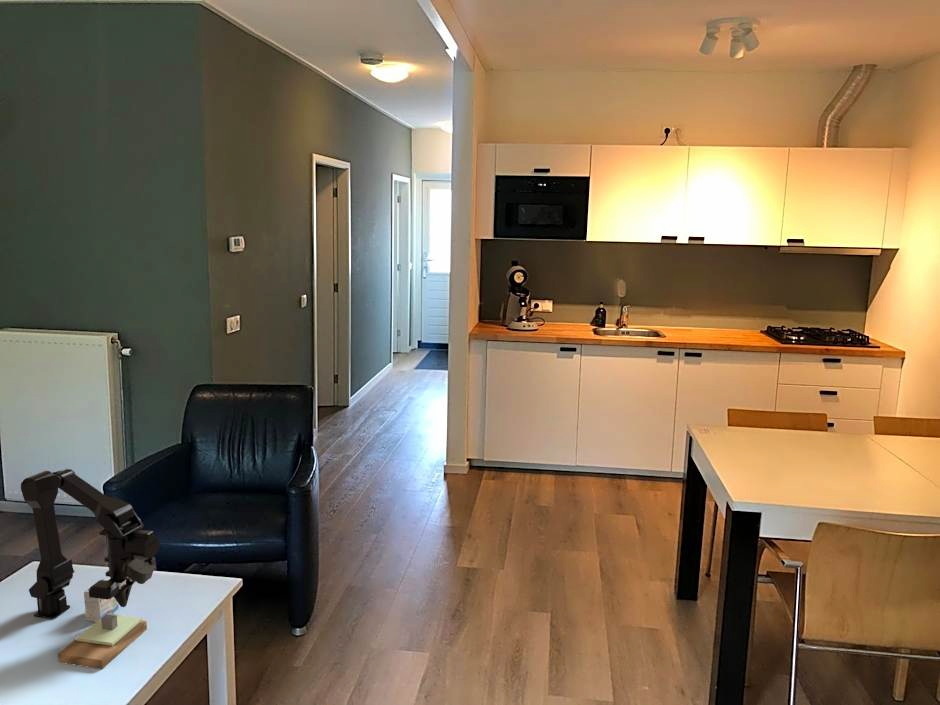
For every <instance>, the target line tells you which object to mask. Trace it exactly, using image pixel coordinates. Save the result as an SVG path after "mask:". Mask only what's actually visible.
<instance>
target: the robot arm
mask: <svg viewBox="0 0 940 705" xmlns="http://www.w3.org/2000/svg"><path fill="white" fill-rule="evenodd" d="M20 490H21V494H22V497H23V500H24V502H25V503H26V504H27V505H28V506H29V507H30V508H31V509H32V514H33V519H34V525H35V531H36V536H37V542H38V548H39V554H40V555H39V556H40V561H39V564H38V566H37V569H36V581H35V582H34V583H33V585H32V586H31V587H30V588H29V589H28V592H29V595H30V597H31V598H35V599H36V603H37V611H35V612H34V613H33V617H38V618H46V619H56V618H57V617H59V616H60V615H62V614H63V613H65V612H66V611H68V610H69V609H70V608H71V605H69V604H68V603H67V595H66V592H65V591H66V590H65V588H66V587H68V586H70V582H71V580H72V579H73V576H74V573H75V570H74V568H73V560H72V559H71V558H67V556H65V555H63V552H62V546H61V540H60V535H59V528H58V522H57V517H56V510H55V509H56V508H55V502H56V500H57V496H58V494H59V490H61V491H62V492H64V493H65V494H66V495H68V496H69V497H71V498H73V500H75V501H76V502H77V503H79V504H81V505H82V506H84V507H85V508H87V509H89V511H91V513H93V514H94V517H95V520H96V522H97V523H99V525H100V526H102V527H103V529H102V530H101V531H100V532H99V536H102V537H103V536H104V537H106V545H107V546H106V547H107V555H106V556H105V557H104V558H103V559H104V562H106V563H108V570H107V571H105V573H104V574H105V577H108V579H109V580H108V581H104V580H102V579H99V580H98V581H96V582H95V583H94V584H92V585H91V586H89V587H88V588H87V590H88V591H89V597H92V598H99V599H107V600H108V599H111V598H112V597H114V598H115V599H116V601H117V602H118V604H119V606H120V607H121V608H126V606H127V604H128V601H129V597H130V594H131V590H132V588H133V585H134V584H135V583H137V584H139V585H143V584H145V583H146V582H147V581H149V580H150V579H152V576H153V573H154V571H156V570H157V569H158V567H157V560H156V557H155V556H156V555H157V554H158V552H159V549H160V543H161V542H160V540H159V538H158V536H157V535H154V531H153V530H144V529H142V528H144V523H143V522H142V520H141V518H140V517H139V516H138V514H137V513H136V512H135V510H134V508H133V506H132V505H131V504H130V503H129V502H127V501H124V500H123V499H120V498H118V497H111V496H108V495H106V494H104V493H103V492H101V491H100V490H99V489H97V488H96V487H95V486H93V485H91V484H89V483H88V482H87V481H86V480H84V479H83V478H81V477H79V475H77V474H76V473H75V471H74V470H73V469H70V468H65V469H63V470H62V469H61V470H58V471H55V472H54V471H53V472H52V471H49V470H44V471H41V472H39V473H36V474H33V475H30V476H28V477H26V478H24V479H23V480H22V482H21V483H20ZM128 524H130V525H128ZM126 525H128V526H126ZM124 526H125V527H124ZM123 527H124V528H123Z"/></svg>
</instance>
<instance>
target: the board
mask: <svg viewBox="0 0 940 705" xmlns="http://www.w3.org/2000/svg"><path fill="white" fill-rule="evenodd" d="M147 623H148V622H147V620H142V621H141V622H139V623H138V624H137V625H136V626H135V627H134V628H133V629H131V630H130V631H129V632H128V633H127V634H126V635H124V636H123V637H122V638H121V639H120V640H119V641H118V642H116V643H115V644H114V645H113V646H110V645H103V644H96V643H89V642H82V641H77V638H76V639H74V640H73V641H72V642H71V643H69V644H68V645H66V646H65V647H64V648H63V649H62V650H60V651H59V652H58V653H57V661H58V662H60V663H59V664H65V663H67V664H66V665H71V664H75V665H74V666H78V665H81V666H80V667H85V666H88V667H87V668H93V669H99V670H103V669H104V668H106V666H107V665H109V664H111V662H112V661H113V660H115V659H116V657H118V656H119V655H120V654H121V653H122V652H123V651H124V650H125V649H126V648H128V647H129V646H130V645H131V644H132V643H133V642H134V641H136V640H137V639H138V638H139V637H140V636H141V635H142V634H143V633H145V632H146V631H147V630H148V626H147Z"/></svg>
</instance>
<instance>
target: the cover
mask: <svg viewBox="0 0 940 705" xmlns="http://www.w3.org/2000/svg"><path fill="white" fill-rule="evenodd" d="M142 619H143V618H142V617H139V616H131V615H122V614H118V613H117V614H115V613H112V614H110V613H107V614H106V615H105V616H103V617H102V618H101V619H100V620H98V621H97V622H95V623H93V624H92V625H90V627H88V628H87V629H86V630H84V631H83V632H82V633H80V634H79V635H78V636H77V637H76V639H77V641H82V642H89V643H96V644H103V645H110V646H113V645H114V644H115V643H116V642H118V641H119V640H120V639H121V638H122V637H123V636H124V635H126V634H127V633H128V632H129V631H130V630H131V629H133V628H134V627H135V626H136V625H137V624H138V623H139V622H141V621H143V620H142Z"/></svg>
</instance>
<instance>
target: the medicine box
mask: <svg viewBox="0 0 940 705" xmlns="http://www.w3.org/2000/svg"><path fill="white" fill-rule="evenodd" d="M109 579H110V578H102V579H101V580H104V581H108V580H109ZM83 598H84V610H85V620H86V621H88V622H95V623H96V622H97V621H98V620H100V619H101V618H102V617H103V616H105V615H106V614H107V613H110V614H111V613H112V614H114V612H115V611H116V610H118V609H119V606H120V605H119V603H118V602H117V601H116V599H115V598H114V597H112V598H111V599H108V600H107V599H99V598H92V597H89V591H88V589H86V590H85V591H83Z"/></svg>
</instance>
